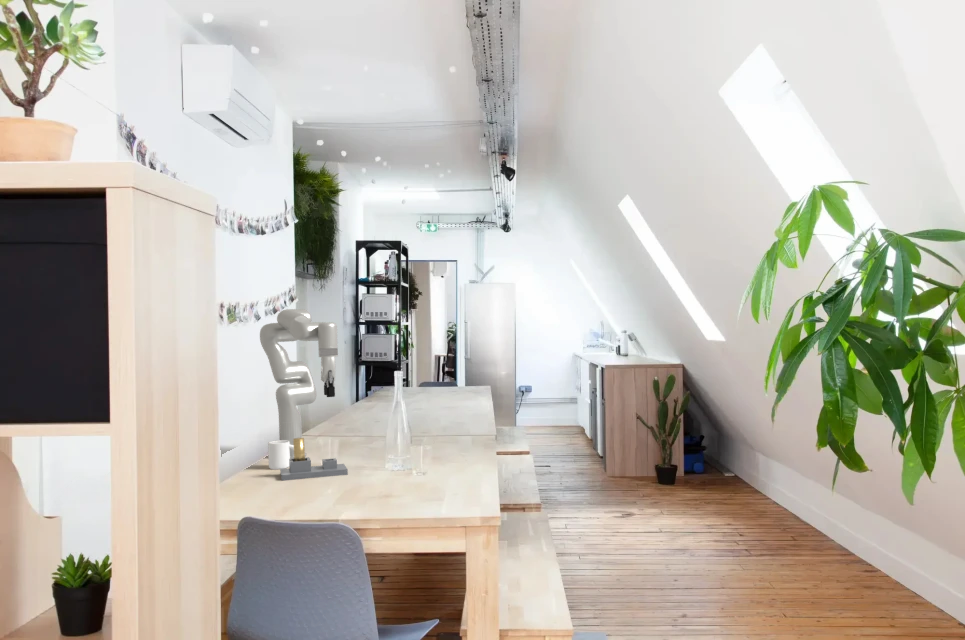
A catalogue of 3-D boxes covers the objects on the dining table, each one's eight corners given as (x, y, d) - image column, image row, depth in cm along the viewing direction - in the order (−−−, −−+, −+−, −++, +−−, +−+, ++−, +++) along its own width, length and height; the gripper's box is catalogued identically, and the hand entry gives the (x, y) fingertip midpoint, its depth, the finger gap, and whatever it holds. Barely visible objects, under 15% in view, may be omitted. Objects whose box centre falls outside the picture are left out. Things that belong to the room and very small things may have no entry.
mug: (301, 464, 297) (300, 439, 297) (297, 468, 288) (296, 442, 289) (271, 466, 296) (270, 440, 296) (266, 470, 288) (265, 444, 288)
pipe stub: (294, 469, 276) (292, 438, 276) (305, 468, 277) (303, 437, 277) (294, 471, 272) (293, 439, 272) (305, 470, 274) (304, 438, 274)
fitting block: (280, 474, 278) (280, 458, 278) (343, 468, 286) (343, 453, 286) (281, 480, 267) (281, 464, 267) (347, 474, 274) (347, 458, 274)
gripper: (316, 352, 298) (317, 394, 298) (320, 354, 282) (321, 398, 282) (335, 352, 301) (336, 393, 301) (340, 353, 284) (341, 397, 284)
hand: (329, 395), depth 291 cm, fingers open, 9 cm apart
